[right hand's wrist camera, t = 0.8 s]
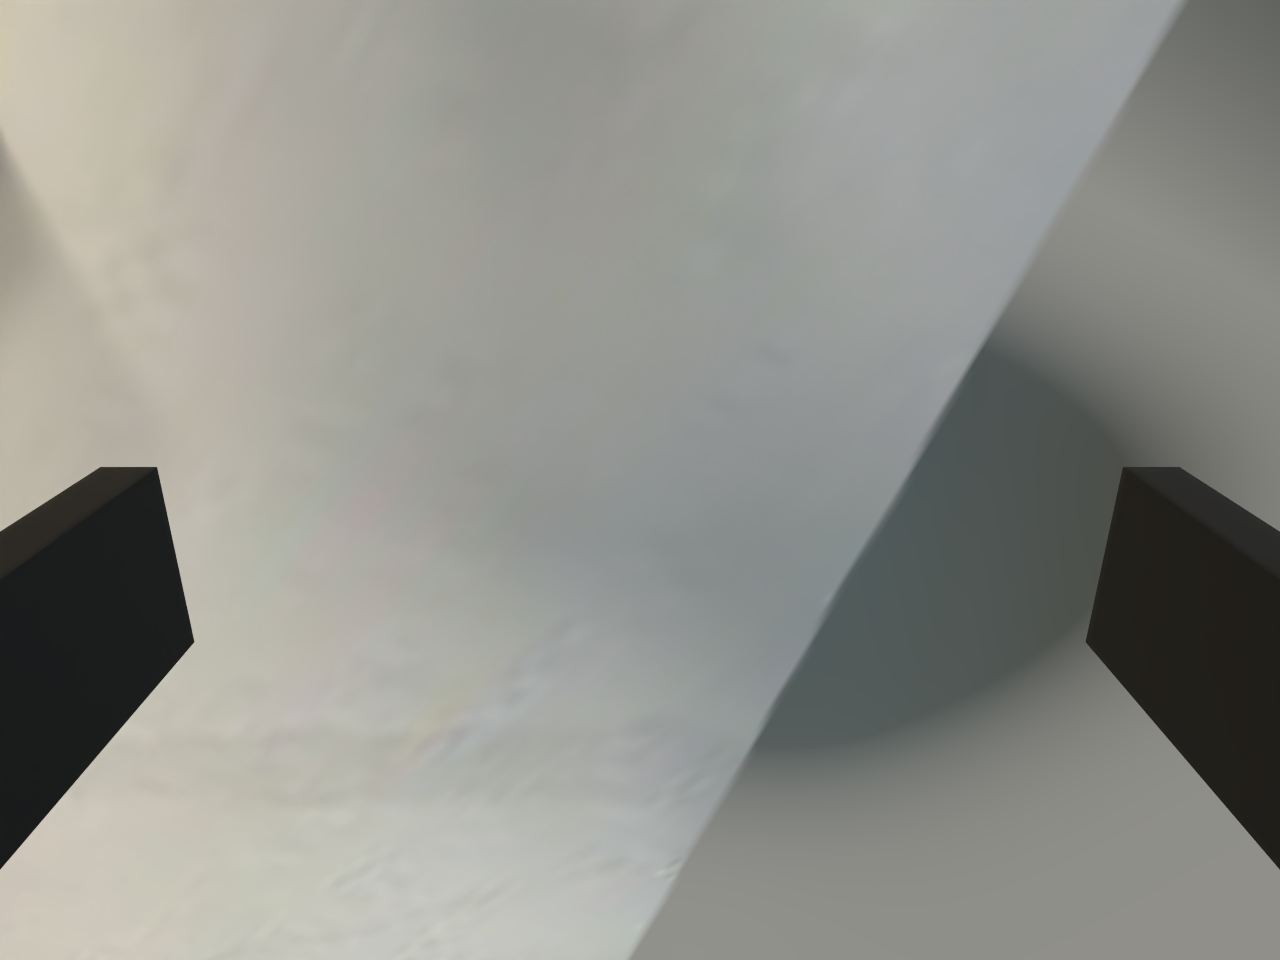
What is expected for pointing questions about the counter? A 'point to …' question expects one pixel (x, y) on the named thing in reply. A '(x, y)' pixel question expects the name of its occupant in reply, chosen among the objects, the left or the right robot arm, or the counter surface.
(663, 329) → the counter surface
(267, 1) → the counter surface
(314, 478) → the counter surface
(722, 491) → the counter surface
